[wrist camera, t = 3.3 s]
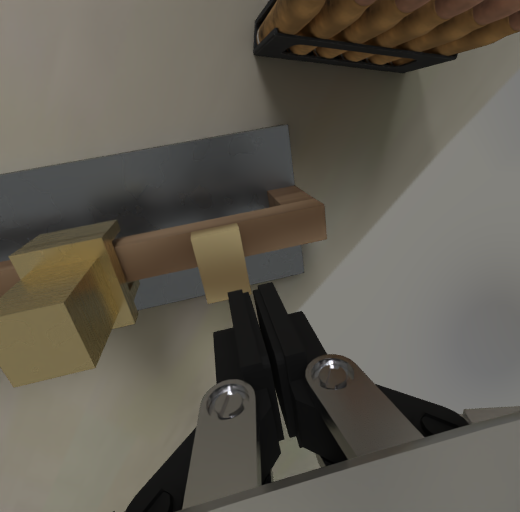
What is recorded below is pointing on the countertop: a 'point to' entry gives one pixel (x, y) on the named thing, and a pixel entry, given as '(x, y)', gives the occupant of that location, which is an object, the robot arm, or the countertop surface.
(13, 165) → the countertop surface
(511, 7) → the ammunition clip
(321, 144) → the countertop surface
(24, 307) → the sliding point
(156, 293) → the bolt-hole plate
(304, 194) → the bar
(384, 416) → the robot arm
